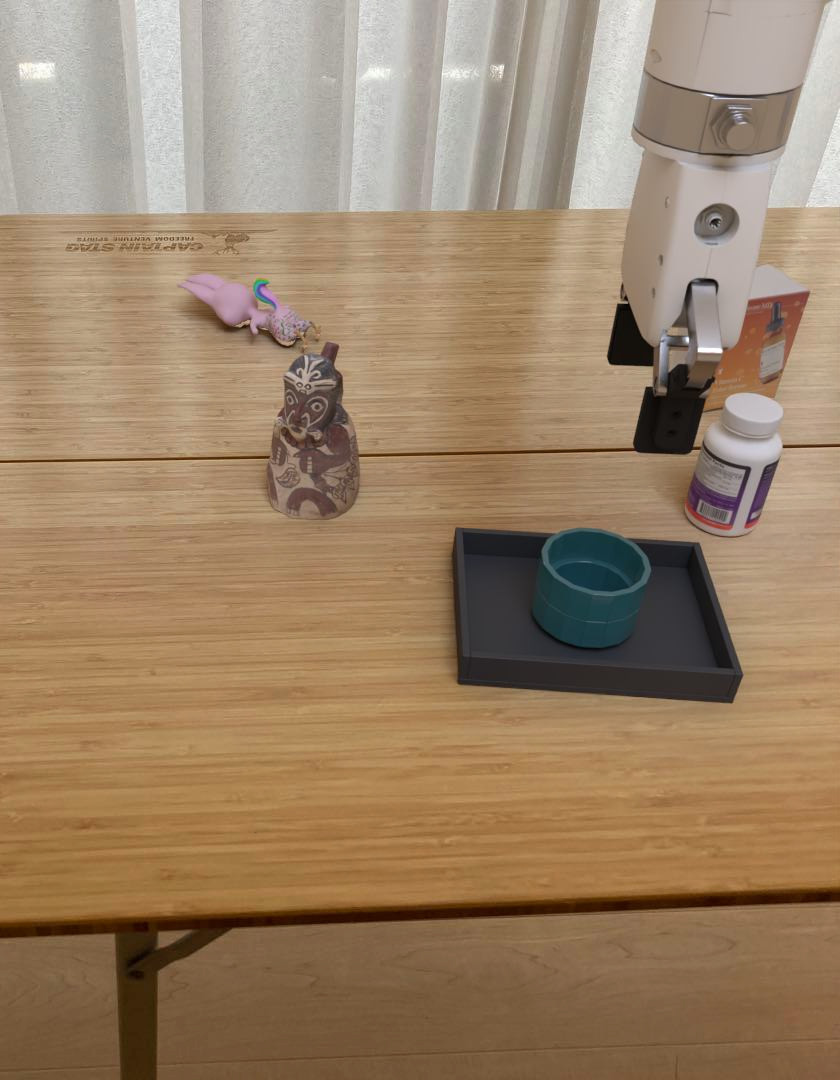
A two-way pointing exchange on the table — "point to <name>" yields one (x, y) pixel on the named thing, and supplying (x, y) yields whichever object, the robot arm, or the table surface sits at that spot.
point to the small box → (758, 339)
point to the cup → (590, 587)
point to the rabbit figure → (248, 306)
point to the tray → (624, 669)
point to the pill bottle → (736, 466)
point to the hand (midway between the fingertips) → (645, 404)
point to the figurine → (313, 442)
